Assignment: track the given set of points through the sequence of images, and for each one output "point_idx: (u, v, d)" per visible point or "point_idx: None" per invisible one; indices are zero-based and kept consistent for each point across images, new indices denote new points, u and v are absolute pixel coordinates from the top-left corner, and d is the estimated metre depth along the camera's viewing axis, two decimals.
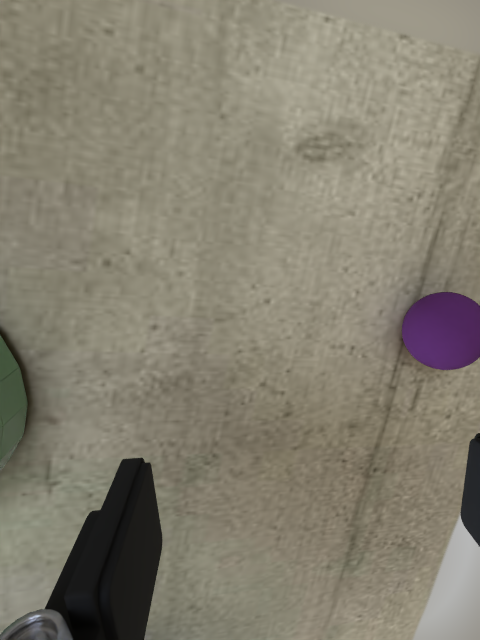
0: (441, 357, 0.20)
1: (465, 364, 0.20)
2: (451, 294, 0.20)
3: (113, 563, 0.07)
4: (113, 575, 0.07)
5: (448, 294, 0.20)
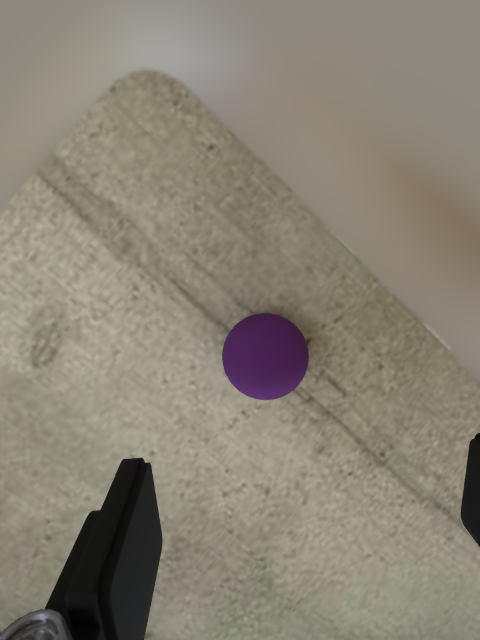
0: (272, 395, 0.18)
1: (297, 377, 0.18)
2: (229, 336, 0.19)
3: (113, 563, 0.07)
4: (113, 575, 0.07)
5: (227, 339, 0.19)
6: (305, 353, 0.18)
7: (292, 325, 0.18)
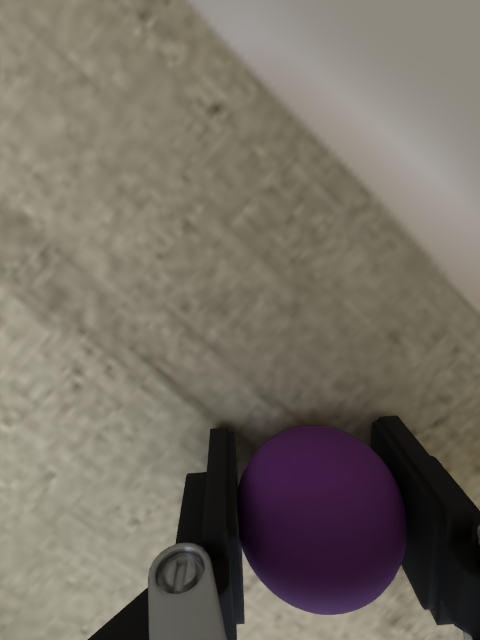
0: (338, 613, 0.09)
1: (391, 579, 0.09)
2: (250, 480, 0.09)
3: (233, 508, 0.08)
4: (235, 517, 0.08)
5: (246, 485, 0.09)
6: (405, 523, 0.09)
7: (376, 461, 0.09)
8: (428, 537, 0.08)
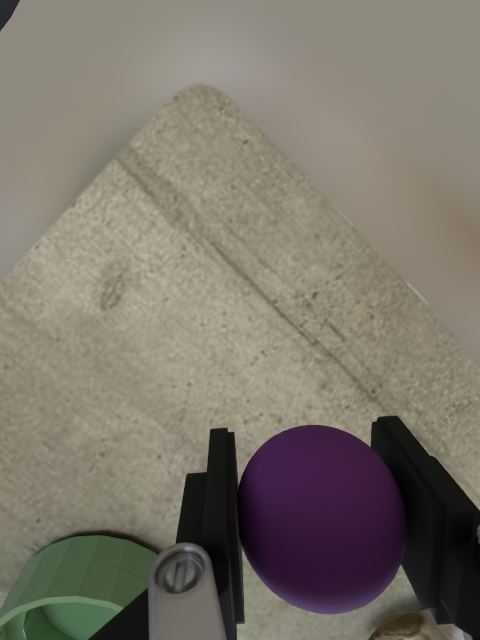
0: None
1: (391, 579, 0.09)
2: (250, 480, 0.09)
3: (233, 508, 0.08)
4: (235, 517, 0.08)
5: (247, 484, 0.09)
6: (405, 523, 0.09)
7: (376, 461, 0.09)
8: (428, 537, 0.08)
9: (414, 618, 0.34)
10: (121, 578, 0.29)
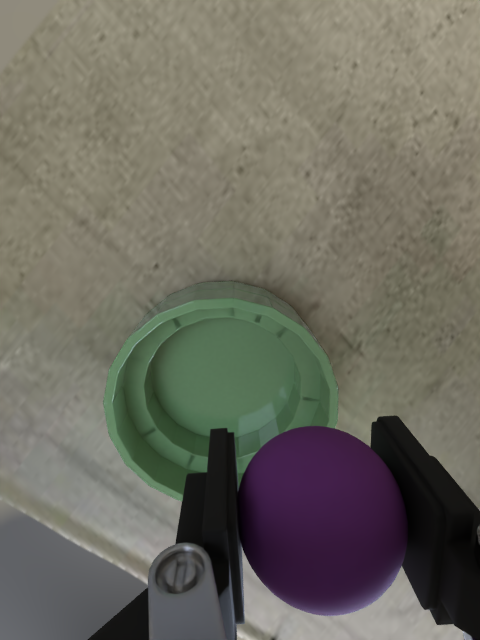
0: (339, 614, 0.09)
1: (392, 580, 0.09)
2: (250, 480, 0.09)
3: (233, 507, 0.08)
4: (235, 517, 0.08)
5: (247, 486, 0.09)
6: (406, 524, 0.09)
7: (376, 462, 0.09)
8: (428, 537, 0.08)
9: None
10: (273, 302, 0.24)
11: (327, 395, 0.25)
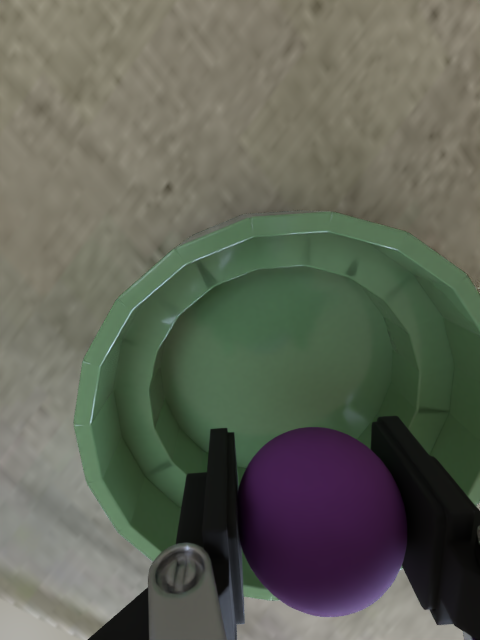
0: None
1: (392, 581, 0.09)
2: (250, 482, 0.09)
3: (233, 507, 0.08)
4: (235, 517, 0.08)
5: (246, 487, 0.09)
6: (405, 525, 0.09)
7: (376, 463, 0.09)
8: (428, 537, 0.08)
9: None
10: None
11: None
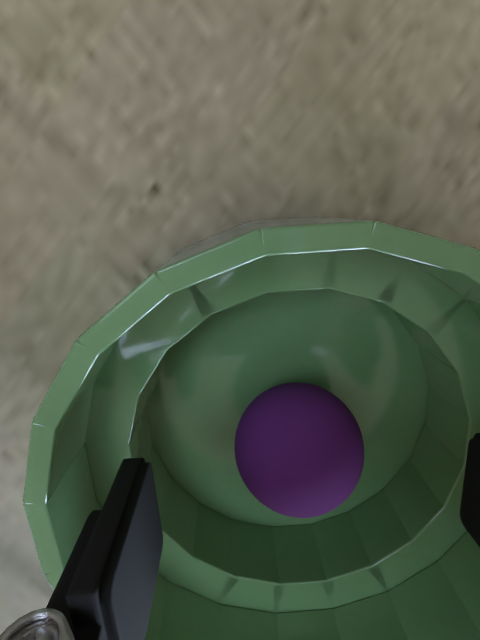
0: (311, 516, 0.12)
1: (350, 489, 0.12)
2: (245, 420, 0.12)
3: (114, 562, 0.07)
4: (114, 574, 0.07)
5: (243, 424, 0.12)
6: (361, 450, 0.12)
7: (340, 405, 0.12)
8: None
9: None
10: None
11: None
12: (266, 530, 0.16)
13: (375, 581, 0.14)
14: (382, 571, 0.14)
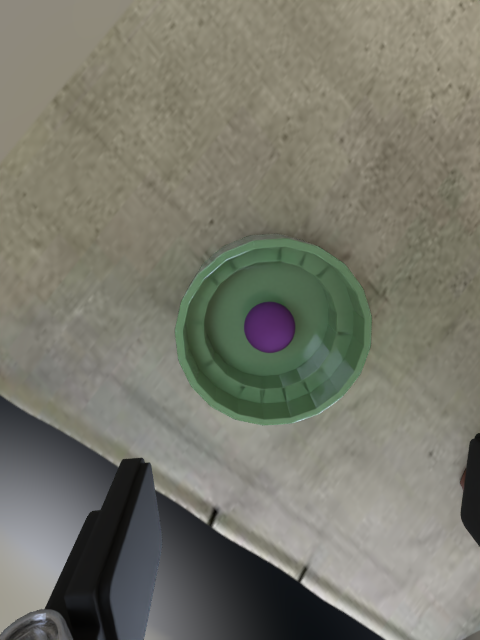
0: (273, 349, 0.31)
1: (287, 338, 0.31)
2: (248, 314, 0.31)
3: (113, 563, 0.07)
4: (113, 575, 0.07)
5: (247, 316, 0.31)
6: (293, 325, 0.31)
7: (285, 308, 0.31)
8: None
9: None
10: None
11: (361, 325, 0.29)
12: (258, 376, 0.35)
13: (303, 388, 0.33)
14: (306, 383, 0.33)
